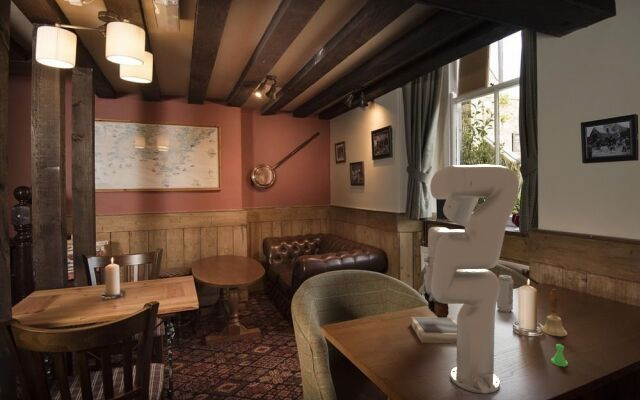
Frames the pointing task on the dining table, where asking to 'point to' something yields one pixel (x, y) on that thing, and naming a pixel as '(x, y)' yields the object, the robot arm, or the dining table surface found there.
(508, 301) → the energy drink can
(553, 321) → the hand bell
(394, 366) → the dining table surface
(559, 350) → the game piece
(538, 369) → the dining table surface
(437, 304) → the brick
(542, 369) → the dining table surface
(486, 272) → the robot arm
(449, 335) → the plinth
